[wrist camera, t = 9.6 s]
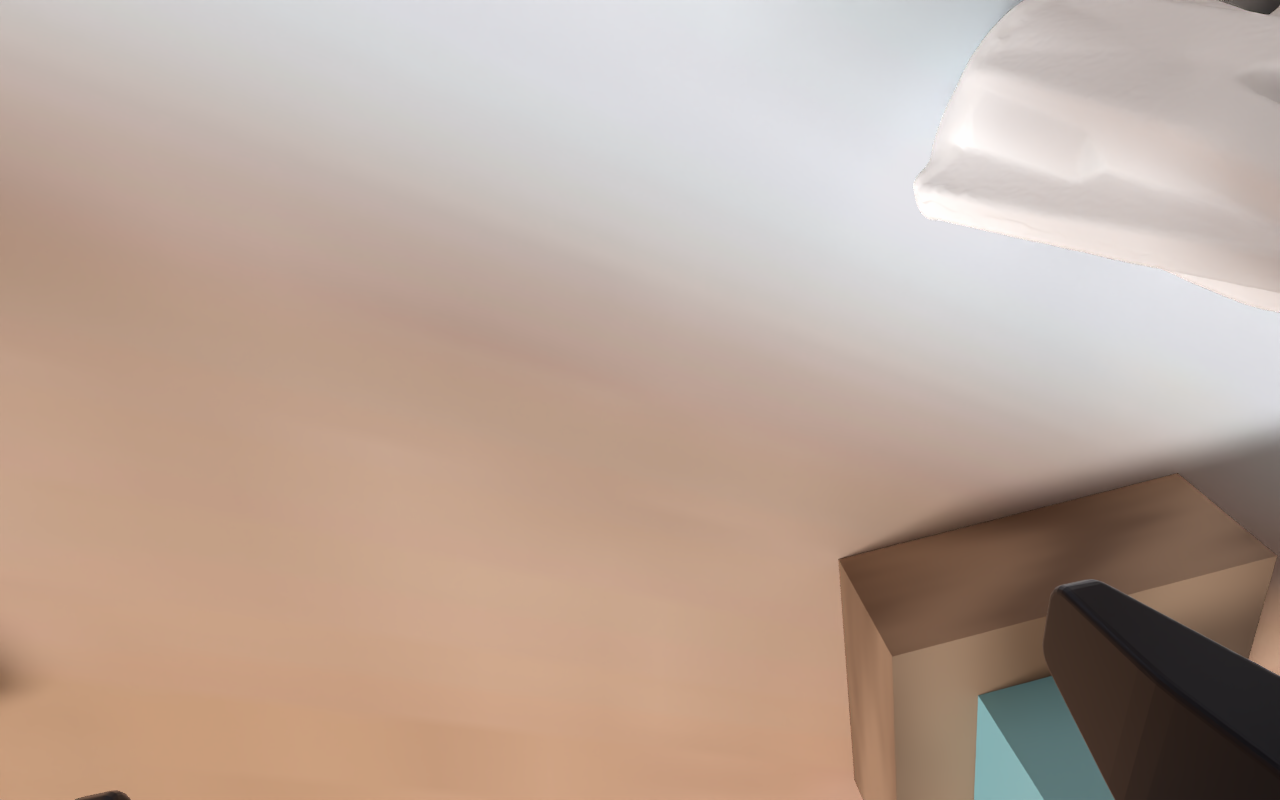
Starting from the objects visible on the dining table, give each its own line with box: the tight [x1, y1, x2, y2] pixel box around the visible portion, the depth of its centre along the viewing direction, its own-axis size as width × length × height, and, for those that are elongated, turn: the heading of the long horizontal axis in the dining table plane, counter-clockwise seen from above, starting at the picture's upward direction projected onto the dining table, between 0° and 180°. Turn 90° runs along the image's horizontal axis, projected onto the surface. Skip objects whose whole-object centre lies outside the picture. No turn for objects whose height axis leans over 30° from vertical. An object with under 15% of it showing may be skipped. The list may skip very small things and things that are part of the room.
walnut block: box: [838, 473, 1277, 800], centre depth 26 cm, size 10×10×4 cm
